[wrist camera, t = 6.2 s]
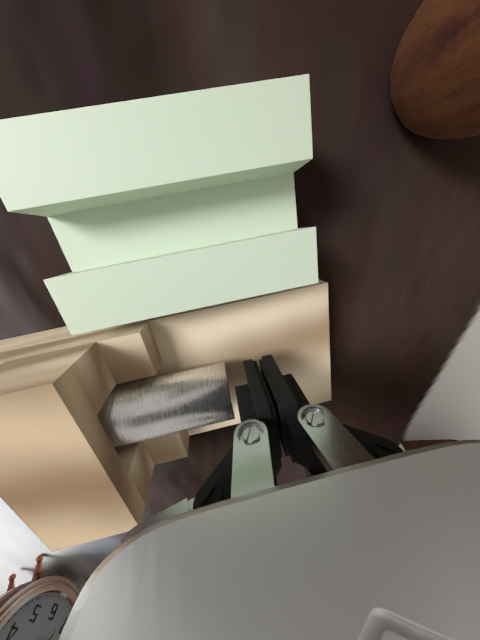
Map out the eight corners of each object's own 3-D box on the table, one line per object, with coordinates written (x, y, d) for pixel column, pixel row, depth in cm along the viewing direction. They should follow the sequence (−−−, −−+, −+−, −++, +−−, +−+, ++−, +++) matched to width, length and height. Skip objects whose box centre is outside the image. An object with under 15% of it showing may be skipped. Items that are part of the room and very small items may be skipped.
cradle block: (56, 168, 11) (-37, 125, 7) (272, 132, 12) (309, 73, 7) (113, 304, 14) (71, 335, 9) (285, 269, 14) (318, 282, 10)
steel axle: (-38, 457, 13) (-109, 515, 10) (-68, 416, 12) (-156, 467, 9) (232, 395, 14) (237, 432, 11) (222, 353, 13) (226, 380, 10)
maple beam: (-153, 372, 13) (-533, 515, 6) (308, 275, 15) (392, 307, 8) (-56, 468, 16) (-241, 631, 9) (315, 378, 18) (378, 462, 11)
